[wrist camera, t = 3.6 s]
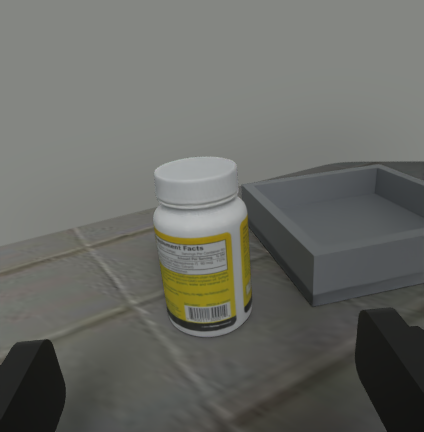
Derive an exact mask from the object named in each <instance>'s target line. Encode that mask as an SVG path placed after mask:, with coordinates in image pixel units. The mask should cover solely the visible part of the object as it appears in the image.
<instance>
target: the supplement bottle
mask: <svg viewBox="0 0 424 432" xmlns="http://www.w3.org/2000/svg"><path fill="white" fill-rule="evenodd" d="M154 180H155V192H156V196H157V200H158V202H159V203H160V205H159V206H158V207H157V209H156V210H155V213H154V216H153V223H154V230H155V237H156V243H157V249H158V255H159V261H160V268H161V274H162V280H163V286H164V292H165V298H166V303H167V310H168V315H169V318H170V320H171V322H172V323H173V325H174V326H175V327H176V328H177V329H179V330H181V331H183V332H184V333H187V334H190V335H193V336H198V337H215V336H220V335H224V334H227V333H229V332H231V331H233V330H235V329H237V328H238V327H240V326H241V325H242V324H243V323H244V322H245V321H246V320H247V318H248V317H249V315H250V313H251V310H252V291H251V273H250V254H249V234H248V213H247V208H246V205H245V203H244V202H243V201H242V199H241V198H239V197H238V196H237V194H238V191H239V190H238V174H237V165H236V164H235V163H234V162H233V161H232V160H229V159H225V158H220V157H192V158H185V159H180V160H175V161H172V162H168V163H166V164H163V165H161V166H160V167H158V168H157V169H156V170H155V171H154Z"/></svg>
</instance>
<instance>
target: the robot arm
mask: <svg viewBox="0 0 424 432" xmlns="http://www.w3.org/2000/svg"><path fill="white" fill-rule="evenodd" d="M355 363H356V369H357V373H358V376H359V378H360V381H361V383H362V385H363V386H364V388H365V390H366V392H367V394H368V396H369V398H370V400H371V402H372V404H373V405H374V407H375V409H376V411H377V413H378V415H379V417H380V419H381V421H382V423H383V424H384V426H385V428H386V430H387V432H424V330H423V329H421V328H420V327H418V326H411V327H409V326H408V325H407V324H406V322H405V321H404V320H403V319H402V317H401V316H400V315H399V314H398V313H397V311H396V310H395V309H393V308H379V309H369V310H362V311H361V312H360V313H359V318H358V329H357V339H356V349H355ZM65 398H66V387H65V382H64V379H63V375H62V372H61V369H60V366H59V363H58V360H57V356H56V353H55V350H54V347H53V344H52V342H51V341H50V340H48V339H45V340H35V341H24V342H17V343H16V344H15V345H14V346H13V347H12V348H11V350H10V352H9V353H8V355H7V356H6V358H5V360H4V361H3V363H2V364H1V365H0V432H55V430H56V428H57V425H58V422H59V419H60V417H61V414H62V411H63V408H64V404H65Z"/></svg>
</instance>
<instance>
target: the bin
mask: <svg viewBox="0 0 424 432" xmlns="http://www.w3.org/2000/svg"><path fill="white" fill-rule="evenodd" d="M241 188H242V201H243V202H244V203H245V205H246V208H247V213H248V226H249V227H250V229H251V230H252V231H253V232H254V234H255V235H256V236H257V237H258V239H259V240H260V241H261V243H262V244H263V245H264V246H265V248H266V249H267V250H268V251H269V253H270V254H271V255H272V256H273V258H274V259H275V260H276V261H277V263H278V264H279V265H280V266H281V268H282V269H283V270H284V271H285V273H286V274H287V275H288V277H289V278H290V279H291V280H292V282H293V283H294V284H295V285H296V287H297V288H298V289H299V290H300V292H301V293H302V294H303V295H304V297H305V298H306V299H307V300H308V302H309V303H310V304H311V305H312V307H314V306H318V305H323V304H328V303H332V302H337V301H342V300H347V299H351V298H356V297H361V296H365V295H370V294H375V293H379V292H384V291H389V290H393V289H398V288H403V287H407V286H412V285H417V284H421V283H424V181H423V180H421V179H418V178H415V177H413V176H410V175H407V174H405V173H402V172H399V171H397V170H394V169H391V168H389V167H386V166H383V165H381V164H377V165H370V166H363V167H357V168H350V169H343V170H336V171H329V172H322V173H316V174H309V175H302V176H295V177H288V178H281V179H275V180H268V181H261V182H254V183H247V184H242V185H241Z"/></svg>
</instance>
